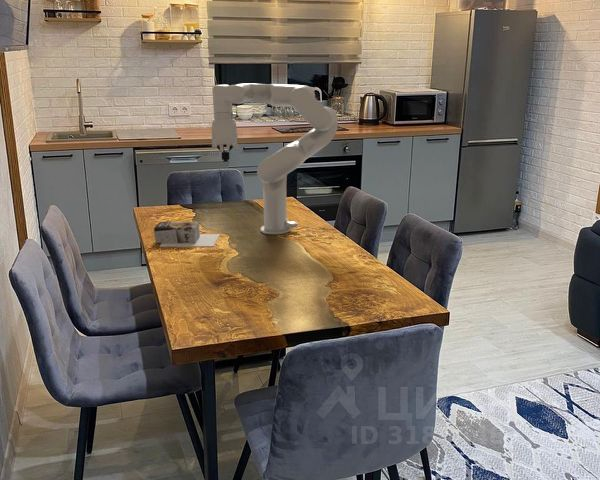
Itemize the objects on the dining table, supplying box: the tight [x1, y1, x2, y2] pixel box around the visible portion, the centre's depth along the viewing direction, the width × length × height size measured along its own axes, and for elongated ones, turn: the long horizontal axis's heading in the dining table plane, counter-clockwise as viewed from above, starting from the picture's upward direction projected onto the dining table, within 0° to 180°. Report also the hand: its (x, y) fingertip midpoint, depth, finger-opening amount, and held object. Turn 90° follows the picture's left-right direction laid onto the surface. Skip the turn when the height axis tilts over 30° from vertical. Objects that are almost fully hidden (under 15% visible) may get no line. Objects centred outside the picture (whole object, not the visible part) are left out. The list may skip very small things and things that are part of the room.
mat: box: [159, 233, 221, 248], centre depth 237 cm, size 21×16×1 cm
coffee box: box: [153, 221, 201, 244], centre depth 236 cm, size 9×6×16 cm
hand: (225, 161), depth 245 cm, fingers closed
